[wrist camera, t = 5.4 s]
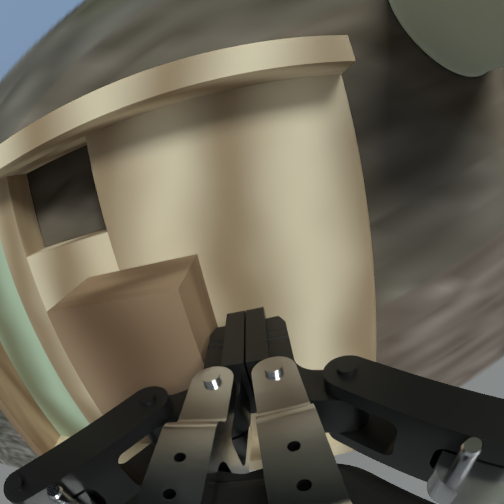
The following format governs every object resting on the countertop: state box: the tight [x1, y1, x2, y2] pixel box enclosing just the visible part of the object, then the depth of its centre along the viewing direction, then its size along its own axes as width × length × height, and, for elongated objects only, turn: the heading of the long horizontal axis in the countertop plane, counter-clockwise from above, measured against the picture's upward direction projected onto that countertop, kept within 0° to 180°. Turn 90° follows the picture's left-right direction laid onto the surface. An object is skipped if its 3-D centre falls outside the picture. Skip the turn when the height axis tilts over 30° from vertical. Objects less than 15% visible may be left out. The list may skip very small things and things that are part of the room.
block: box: [47, 254, 218, 415], centre depth 12 cm, size 6×6×4 cm
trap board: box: [0, 35, 376, 471], centre depth 14 cm, size 26×22×5 cm
